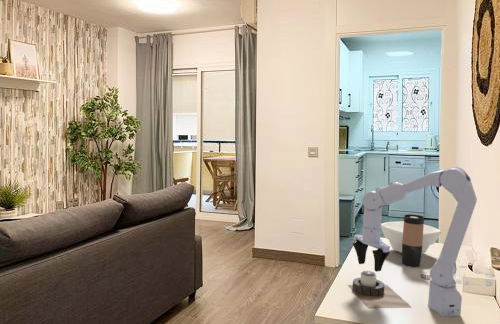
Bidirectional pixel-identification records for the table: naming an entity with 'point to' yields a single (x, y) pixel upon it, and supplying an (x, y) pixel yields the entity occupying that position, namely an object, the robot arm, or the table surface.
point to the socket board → (378, 295)
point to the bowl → (395, 235)
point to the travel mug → (412, 240)
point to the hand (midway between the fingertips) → (369, 267)
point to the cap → (368, 279)
